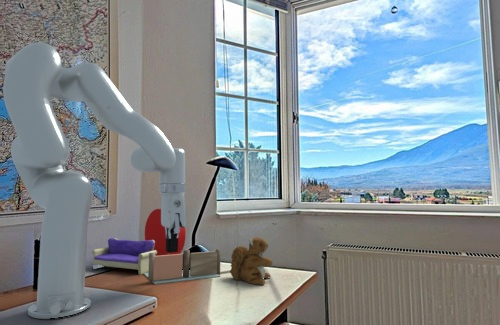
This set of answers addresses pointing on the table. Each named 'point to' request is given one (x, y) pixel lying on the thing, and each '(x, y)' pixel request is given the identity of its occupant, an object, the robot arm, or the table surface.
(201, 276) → the mat
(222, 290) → the table surface
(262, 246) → the stuffed squirrel
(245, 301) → the table surface
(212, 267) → the fixed panel
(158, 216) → the red thick disc
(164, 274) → the panel
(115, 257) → the toy sofa
